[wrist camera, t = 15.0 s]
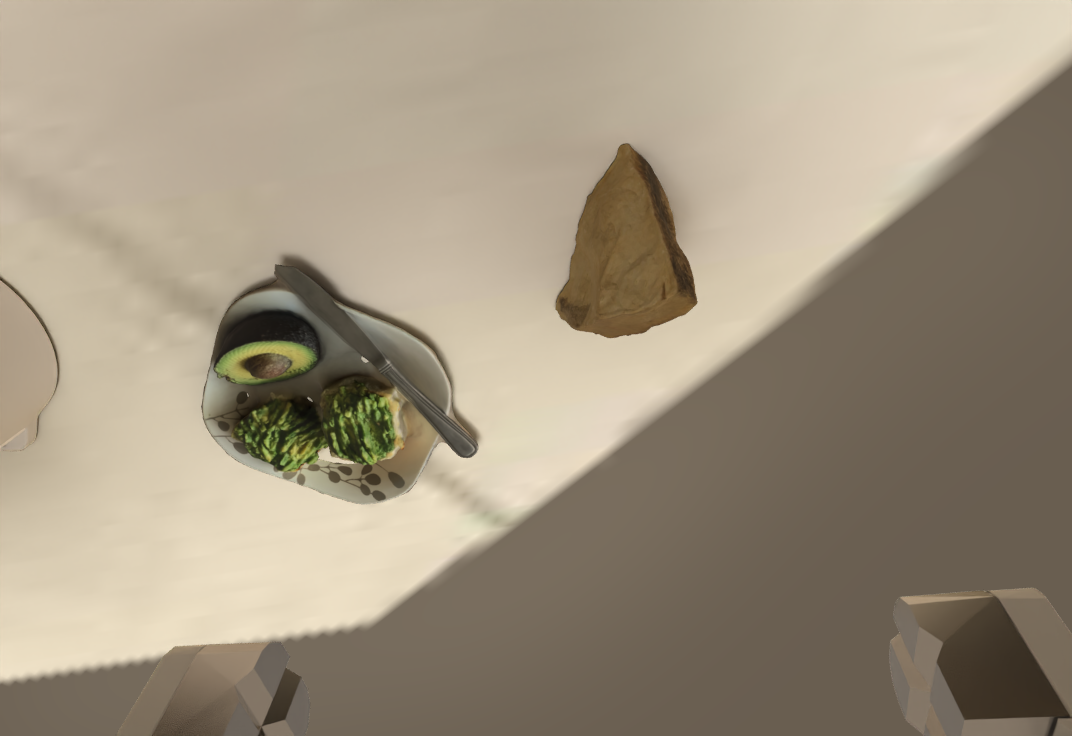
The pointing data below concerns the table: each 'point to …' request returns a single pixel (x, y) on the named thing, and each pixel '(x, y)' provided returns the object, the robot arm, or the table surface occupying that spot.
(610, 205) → the rock
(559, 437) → the table surface
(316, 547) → the table surface
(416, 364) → the plate of avocado toast
